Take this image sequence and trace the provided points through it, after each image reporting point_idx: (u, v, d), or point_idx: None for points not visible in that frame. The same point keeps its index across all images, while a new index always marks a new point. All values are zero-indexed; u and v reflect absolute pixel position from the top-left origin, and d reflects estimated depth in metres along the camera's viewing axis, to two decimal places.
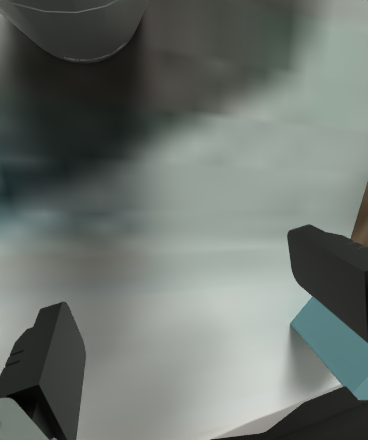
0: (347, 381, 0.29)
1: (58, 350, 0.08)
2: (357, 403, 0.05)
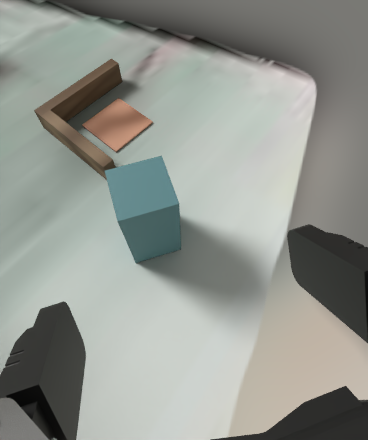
0: None
1: (58, 351, 0.08)
2: (357, 403, 0.05)
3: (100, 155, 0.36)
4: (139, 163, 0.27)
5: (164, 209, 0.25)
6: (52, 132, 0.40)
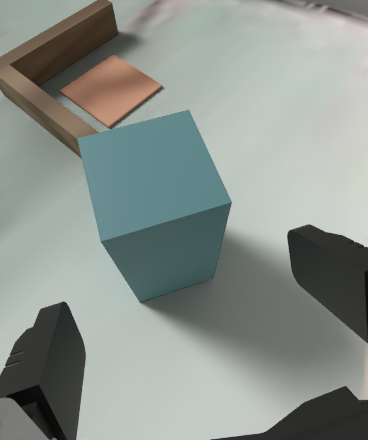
0: None
1: (58, 350, 0.08)
2: (357, 403, 0.05)
3: (82, 128, 0.23)
4: (146, 124, 0.14)
5: (199, 214, 0.12)
6: (14, 100, 0.27)
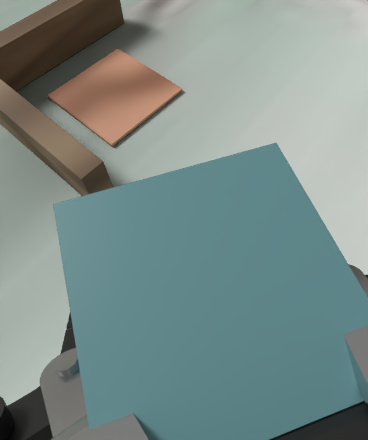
0: None
1: None
2: (357, 403, 0.05)
3: (75, 152, 0.16)
4: (194, 173, 0.07)
5: (338, 407, 0.05)
6: None
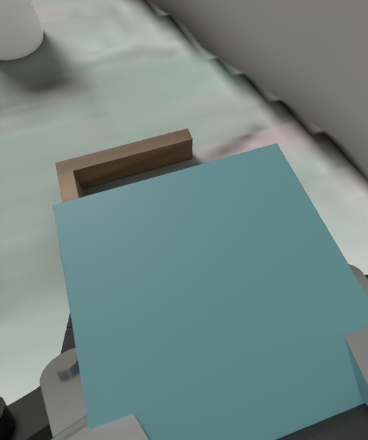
0: None
1: None
2: None
3: None
4: (194, 174, 0.07)
5: (340, 409, 0.05)
6: None
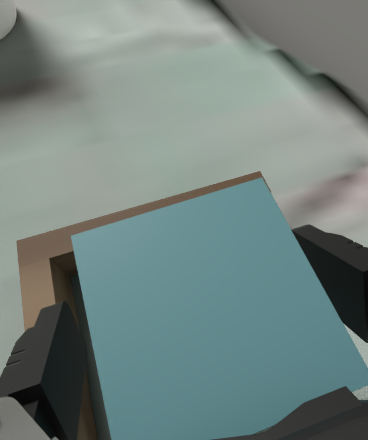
0: None
1: (59, 350, 0.08)
2: (357, 403, 0.05)
3: None
4: (191, 206, 0.08)
5: None
6: None
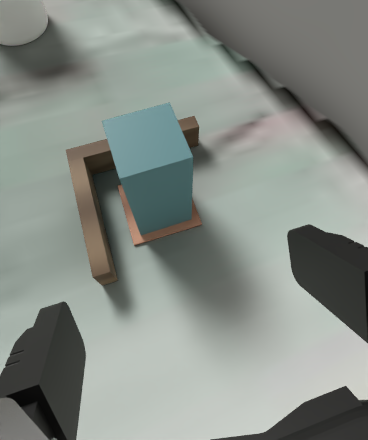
0: None
1: (58, 350, 0.08)
2: (357, 403, 0.05)
3: (99, 256, 0.25)
4: (143, 111, 0.22)
5: (174, 163, 0.21)
6: None
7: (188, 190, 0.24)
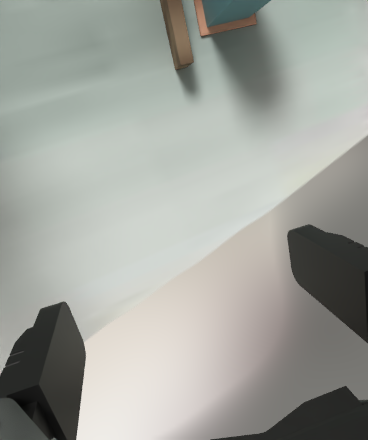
0: None
1: (58, 350, 0.08)
2: (357, 403, 0.05)
3: (185, 47, 0.32)
4: None
5: None
6: None
7: None
